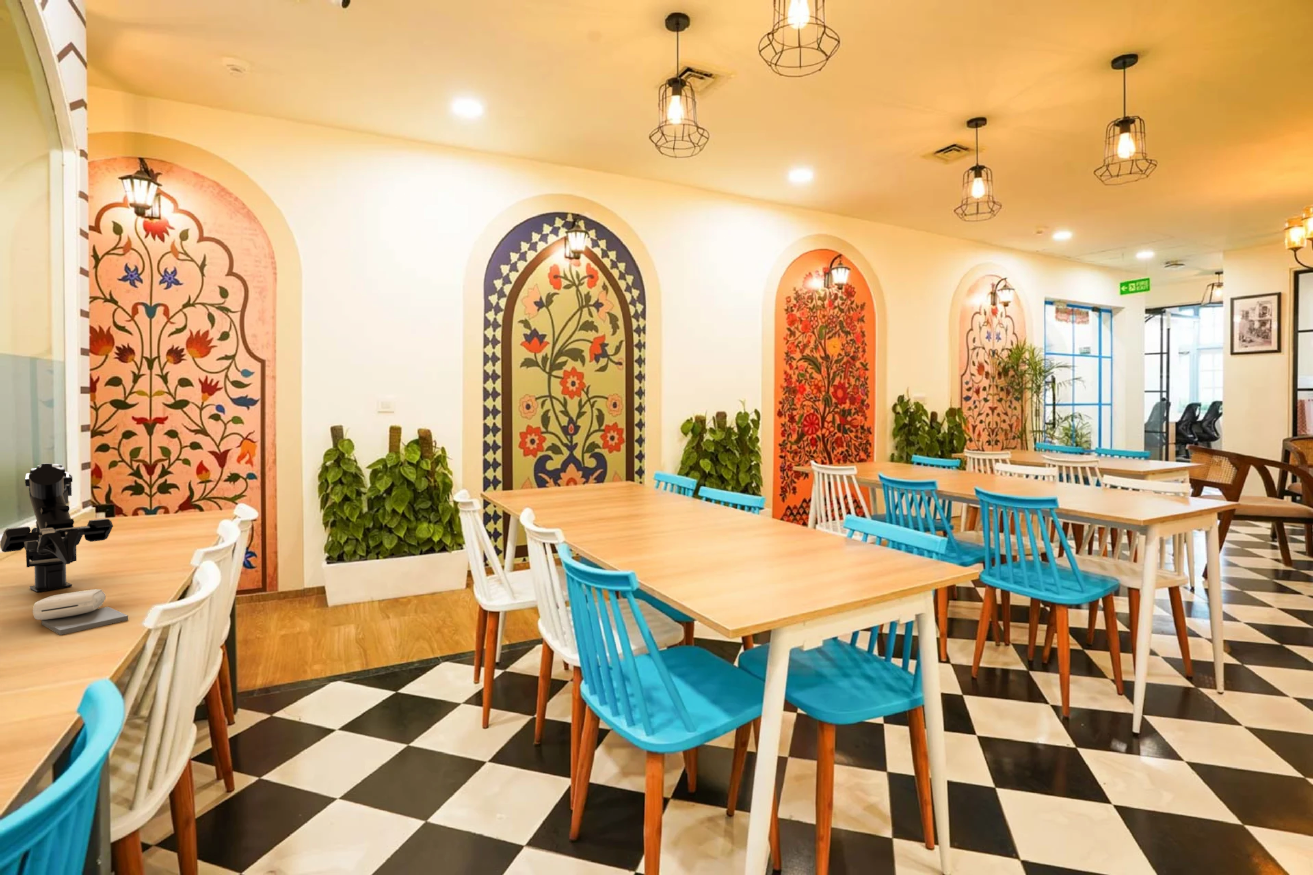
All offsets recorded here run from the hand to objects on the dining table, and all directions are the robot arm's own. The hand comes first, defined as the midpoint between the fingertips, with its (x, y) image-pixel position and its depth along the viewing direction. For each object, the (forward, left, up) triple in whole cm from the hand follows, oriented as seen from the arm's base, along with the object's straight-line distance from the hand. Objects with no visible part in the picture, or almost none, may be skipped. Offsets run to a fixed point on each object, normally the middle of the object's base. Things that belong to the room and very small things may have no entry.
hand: (68, 563), depth 145 cm
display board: (+19, -3, -10) cm, 22 cm away
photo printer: (+7, -1, -7) cm, 10 cm away
